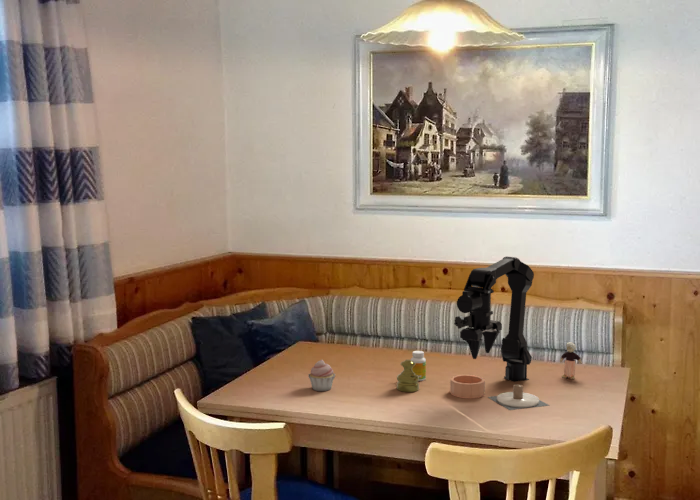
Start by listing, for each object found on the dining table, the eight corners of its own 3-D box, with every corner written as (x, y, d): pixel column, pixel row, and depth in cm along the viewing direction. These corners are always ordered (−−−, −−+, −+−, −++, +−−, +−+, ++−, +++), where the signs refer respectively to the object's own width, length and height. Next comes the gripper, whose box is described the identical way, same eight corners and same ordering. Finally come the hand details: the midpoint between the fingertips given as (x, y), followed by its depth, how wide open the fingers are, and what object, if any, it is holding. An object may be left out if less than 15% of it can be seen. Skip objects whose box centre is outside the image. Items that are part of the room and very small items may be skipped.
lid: (525, 393, 254) (525, 378, 254) (547, 405, 242) (547, 389, 241) (489, 397, 250) (489, 382, 250) (510, 409, 238) (510, 393, 237)
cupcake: (341, 388, 262) (341, 359, 261) (321, 394, 256) (321, 364, 254) (322, 383, 269) (321, 354, 268) (302, 389, 262) (301, 359, 261)
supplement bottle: (424, 381, 270) (425, 354, 269) (409, 380, 271) (409, 353, 270) (426, 377, 275) (426, 350, 274) (411, 376, 276) (411, 349, 275)
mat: (525, 394, 255) (525, 392, 255) (549, 406, 242) (549, 405, 242) (487, 398, 251) (487, 396, 250) (509, 411, 237) (509, 410, 237)
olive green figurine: (412, 393, 256) (412, 363, 255) (392, 390, 260) (392, 361, 259) (422, 388, 262) (423, 359, 261) (403, 384, 266) (403, 356, 265)
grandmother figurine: (558, 378, 274) (559, 342, 272) (559, 375, 277) (560, 340, 276) (580, 380, 271) (582, 344, 269) (582, 377, 274) (583, 341, 273)
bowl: (474, 388, 262) (474, 373, 261) (490, 397, 251) (490, 382, 251) (444, 391, 258) (445, 376, 258) (459, 401, 248) (460, 385, 247)
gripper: (472, 301, 263) (471, 346, 265) (445, 310, 248) (445, 358, 250) (502, 304, 257) (502, 351, 258) (477, 314, 242) (476, 363, 243)
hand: (481, 355), depth 253 cm, fingers open, 9 cm apart
